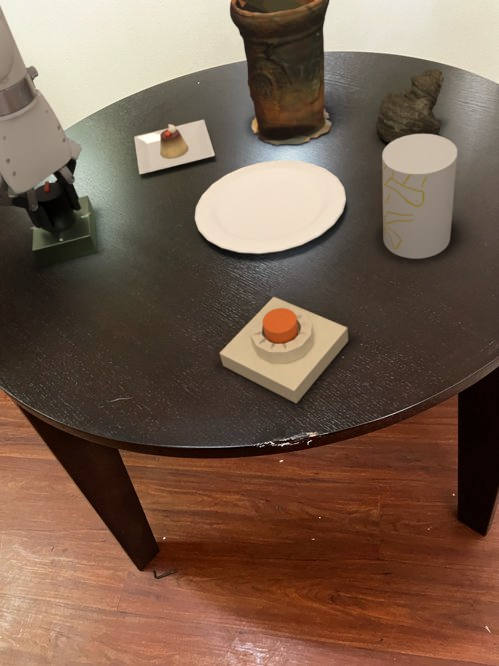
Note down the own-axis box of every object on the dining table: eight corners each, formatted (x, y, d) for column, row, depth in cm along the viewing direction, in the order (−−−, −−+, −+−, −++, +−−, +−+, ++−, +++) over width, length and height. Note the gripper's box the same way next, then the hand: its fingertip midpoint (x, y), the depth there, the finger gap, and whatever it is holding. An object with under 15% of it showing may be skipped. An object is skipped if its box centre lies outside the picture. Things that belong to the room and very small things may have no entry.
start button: (285, 348, 67) (283, 337, 66) (258, 336, 69) (255, 324, 68) (305, 326, 69) (303, 315, 68) (278, 314, 71) (275, 303, 69)
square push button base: (296, 403, 67) (292, 379, 64) (222, 365, 72) (215, 341, 69) (348, 341, 71) (346, 315, 68) (276, 309, 76) (271, 284, 73)
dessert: (141, 180, 100) (132, 153, 97) (135, 142, 109) (127, 116, 105) (216, 161, 101) (210, 134, 97) (205, 125, 109) (199, 98, 106)
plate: (232, 163, 100) (230, 153, 98) (365, 175, 92) (364, 165, 91) (171, 249, 87) (168, 240, 86) (318, 272, 80) (316, 262, 78)
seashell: (467, 110, 88) (463, 74, 94) (392, 71, 85) (393, 36, 92) (418, 171, 96) (417, 134, 103) (349, 137, 94) (352, 101, 100)
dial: (76, 226, 89) (62, 194, 85) (45, 234, 89) (29, 202, 85) (76, 208, 92) (62, 177, 88) (45, 216, 92) (31, 185, 88)
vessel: (340, 96, 108) (332, -33, 94) (335, 143, 99) (325, 7, 84) (256, 103, 111) (235, -21, 97) (243, 149, 102) (219, 18, 87)
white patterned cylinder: (370, 232, 83) (368, 150, 75) (424, 209, 85) (428, 126, 76) (407, 267, 78) (409, 183, 69) (464, 241, 79) (472, 156, 71)
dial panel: (99, 251, 90) (91, 233, 87) (38, 267, 89) (29, 250, 87) (96, 211, 96) (89, 193, 94) (40, 225, 96) (31, 208, 94)
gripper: (37, 58, 83) (86, 179, 96) (-74, 123, 75) (-5, 245, 88) (75, 67, 79) (120, 192, 92) (-38, 136, 71) (29, 262, 84)
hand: (58, 216), depth 90 cm, fingers closed on dial, 4 cm apart
